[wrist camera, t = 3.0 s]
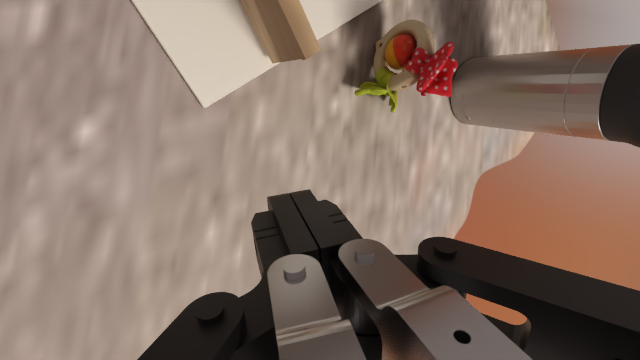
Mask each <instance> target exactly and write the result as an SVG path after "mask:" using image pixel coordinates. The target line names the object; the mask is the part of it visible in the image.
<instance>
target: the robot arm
mask: <svg viewBox="0 0 640 360" xmlns="http://www.w3.org/2000/svg"><path fill="white" fill-rule="evenodd" d="M451 105H452V110H453V112H454V115H455V116H456V118H457V119H458V120H459V121H460V122H462V123H464V124H471V125H479V126H487V127H494V128H503V129H512V130H520V131H529V132H539V133H547V134H556V135H564V136H573V137H583V138H591V139H600V140H609V141H617V142H625V143H629V144H632V145H634V146H637V147H640V44H632V45H620V46H609V47H597V48H586V49H574V50H562V51H548V52H536V53H524V54H512V55H500V56H489V57H478V58H472V59H469V60H468V61H466V62H465V63H464V64H463V65H462V66H461V67H460V69H459V70H458V72H457V73H456V76H455V78H454V80H453V84H452V95H451ZM267 202H268V210H269V211H265V212H260V213H255V215H254V218H253V220H252V222H251V224H252V230H253V237H254V243H255V250H256V256H257V261H258V265H259V269H260V274H261V277H262V279H261V281H260V282H259V284H258V285H257V286H256V287H255V288H254V289H253V290H251V291H250V292H248V293H247V294H245V295H243V296H241V297H239V298H238V297H237V296H235V295H234V294H231V293H227V292H216V293H211V294H207V295H204V296H202V297H200V298H198V299H196V300H195V301H193V302H192V303H191V304H189V305H188V306H187V307H186V308H185V309H184V310H183V311H182V312H181V314H180V315H179V316H178V317H177V318H176V319H175V320H174V321H173V322H172V323H171V324H170V325H169V326H168V327H167V329H166V330H165V331H164V332H163V333H162V334H161V335H160V336H159V337H158V338H157V339H156V340H155V341H154V342H153V343H152V345H151V346H150V347H149V348H148V349H147V350H146V351H145V352H144V353H143V354H142V355H141V356H140V357H139V358H138V359H137V360H640V291H638V290H634V289H631V288H627V287H624V286H620V285H616V284H612V283H609V282H606V281H602V280H598V279H595V278H591V277H588V276H584V275H580V274H577V273H573V272H570V271H566V270H562V269H559V268H555V267H552V266H548V265H544V264H541V263H537V262H533V261H530V260H526V259H523V258H519V257H516V256H512V255H508V254H504V253H501V252H498V251H494V250H490V249H487V248H483V247H479V246H476V245H473V244H469V243H465V242H462V241H458V240H455V239H451V238H446V237H431V238H427V239H425V240H423V241H422V242H421V243H420V244H419V246H418V255H394V254H393V253H392V252H391V251H390V250H389V249H388V248H387V247H386V246H384V245H383V244H381V243H380V242H377V241H374V240H370V239H363V238H362V237H361V235H360V234H359V233H358V232H357V230H356V229H355V228H354V227H353V225H352V224H351V223H350V222H349V220H347V218H346V217H345V215H344V214H343V213H342V211H341V210H340V209H339V208H338V206H337V205H335V204H333V203H331V202H329V201H327V200H322V201H317V199H316V198H315V196H314V195H313V194H312V192H311V191H310V190H303V191H298V192H292V193H289V194H288V193H286V194H281V195H276V196H270V197H267ZM466 293H468V294H470V295H473V296H476V297H479V298H482V299H485V300H487V301H490V302H493V303H496V304H499V305H502V306H505V307H507V308H510V309H513V310H516V311H518V312H520V313H522V314H523V315H525V316H526V317H527V321H526V322H525V323H524V324H522V325H511V324H509V323H506V322H503V321H500V320H498V319H495V318H493V317H490V316H487V315H484V314H482V313H480V312H479V311H478V310H477V309H475V308H474V307H473V306H472V305H471V304H470V303H469V302H467V301H466V300H465V299H466Z"/></svg>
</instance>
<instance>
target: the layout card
mask: <svg viewBox="0 0 640 360" xmlns="http://www.w3.org/2000/svg"><path fill="white" fill-rule="evenodd" d="M131 1H132V3H133V4H134V6H135V7H136V9H137V10H138V12H139V13H140V15H141V16H142V18H143V19H144V21H145V22H146V24H147V25H148V27H149V28H150V30H151V31H152V33H153V34H154V35H155V37H156V38H157V40H158V41H159V43H160V44H161V46H162V47H163V49H164V50H165V52H166V53H167V55H168V56H169V58H170V59H171V61H172V62H173V64H174V65H175V67H176V68H177V70H178V71H179V73H180V74H181V76H182V77H183V79H184V80H185V82H186V83H187V85H188V86H189V87H190V89H191V90H192V92H193V93H194V95H195V96H196V98H197V99H198V101H199V102H200V104H201V105H202V107H203V108H206V107H208V106H209V105H211V104H212V103H214V102H216V101H217V100H219V99H221V98H222V97H224V96H226V95H227V94H229V93H231V92H232V91H234V90H236V89H237V88H239V87H240V86H242V85H244V84H245V83H247V82H249V81H250V80H252V79H254V78H255V77H257V76H259V75H260V74H262V73H264V72H265V71H267V70H268V69H270V68H272V67H273V66H275V65H277V64H278V63H273V64H272V62H271V60H270V58H269V56H268V54H267V52H266V51H265V49H264V47H263V45H262V43H261V41H260V39H259V37H258V35H257V33H256V32H255V30H254V28H253V26H252V24H251V22H250V20H249V18H248V16H247V14H246V12H245V11H244V9H243V7H242V5H241V3H240V1H239V0H131ZM299 1H300V3H301V5H302V7H303V10H304V12H305V14H306V16H307V19H308V21H309V23H310V26H311V28H312V30H313V32H314V35H315V37H316V39H317V40H318V39H320V38H321V37H323V36H325V35H326V34H328V33H329V32H331V31H333V30H334V29H336V28H338V27H339V26H341V25H343V24H344V23H346V22H348V21H349V20H351V19H353V18H354V17H356V16H357V15H359V14H361V13H362V12H364V11H366V10H367V9H369V8H371V7H372V6H374V5H376V4H377V3H379V2H381V1H382V0H299ZM279 63H280V62H279Z"/></svg>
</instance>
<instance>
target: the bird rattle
mask: <svg viewBox="0 0 640 360" xmlns="http://www.w3.org/2000/svg"><path fill="white" fill-rule="evenodd" d="M375 47H376V52H375V57H374V74H375V81H376V83H374V82H364V83H362V84H361V85H360V87H359V89H360V90H356V91H355V95H356V96H360V95H362V94H371V95H383V94H384V95H386V96H389V97H390V99H389V105H390V106H392V107H391V112H394V111H395V109H396V107H397V91H399V90H403V89H406V88H408V87H410V86H412V85H413V84H415V83H416V82H417V81H418V82H417V91H419V92H421V95H422V96H426V95H427V94H437V95H441V96H445V97H450V96H451V95H452V76H453V74H454V72H455V71H456V69H457V67H458V62H457V60H456V59H454V58H451V57H449V55H450V54H451V53H452V51H453V48H454V43H453V42H451V41H449V42H448V43H446V44H445V45H444V46H443V47H441V48H440V49H439V50H438V51H437V52H436V53H435V54H434V38H433V35H432V32H431V31H430V29H429V28H428V27H427V26H426V25H425V24H423V23H422V22H420V21H417V20H407V21H404V22H401V23H399V24H398V25H396V26H395V27H393V28H392V29H391V30H390V31H389V32H388V33H387V34H386V35H385V36H384V37H383V38H382V39H380V40H378V41H377V42H376V43H375ZM388 65H389V66H390V67H391V68H393V69H395V70H402V72H401V73H400V74H397V73H393V72H392V71H390V70H389V69H388Z"/></svg>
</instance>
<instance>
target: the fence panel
mask: <svg viewBox="0 0 640 360" xmlns="http://www.w3.org/2000/svg"><path fill="white" fill-rule="evenodd" d="M239 1H240V3H241V5H242V7H243V9H244V11H245V12H246V14H247V16H248V18H249V20H250V22H251V24H252V26H253V28H254V30H255V32H256V33H257V35H258V37H259V39H260V41H261V43H262V45H263V47H264V49H265V51H266V52H267V54H268V56H269V58H270V60H271V62H272V64H273V63H279V62H285V61H291V60H297V59H302V60H304V59H307V58H309V57H310V56H312V55H314V54H315V53H317V52H318V51H320V50H321V48H320V46H319V44H318V41H317V39H316V37H315V35H314V32H313V30H312V28H311V26H310V23H309V21H308V19H307V16H306V14H305V12H304V10H303V7H302V5H301V3H300V1H299V0H239Z"/></svg>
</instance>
